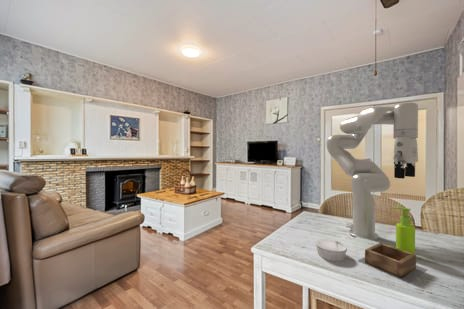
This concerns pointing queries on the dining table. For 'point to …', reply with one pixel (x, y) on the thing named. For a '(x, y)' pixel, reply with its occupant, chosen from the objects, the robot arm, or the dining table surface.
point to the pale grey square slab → (407, 278)
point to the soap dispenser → (405, 232)
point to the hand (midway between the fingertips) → (404, 177)
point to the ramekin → (331, 249)
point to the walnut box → (390, 260)
